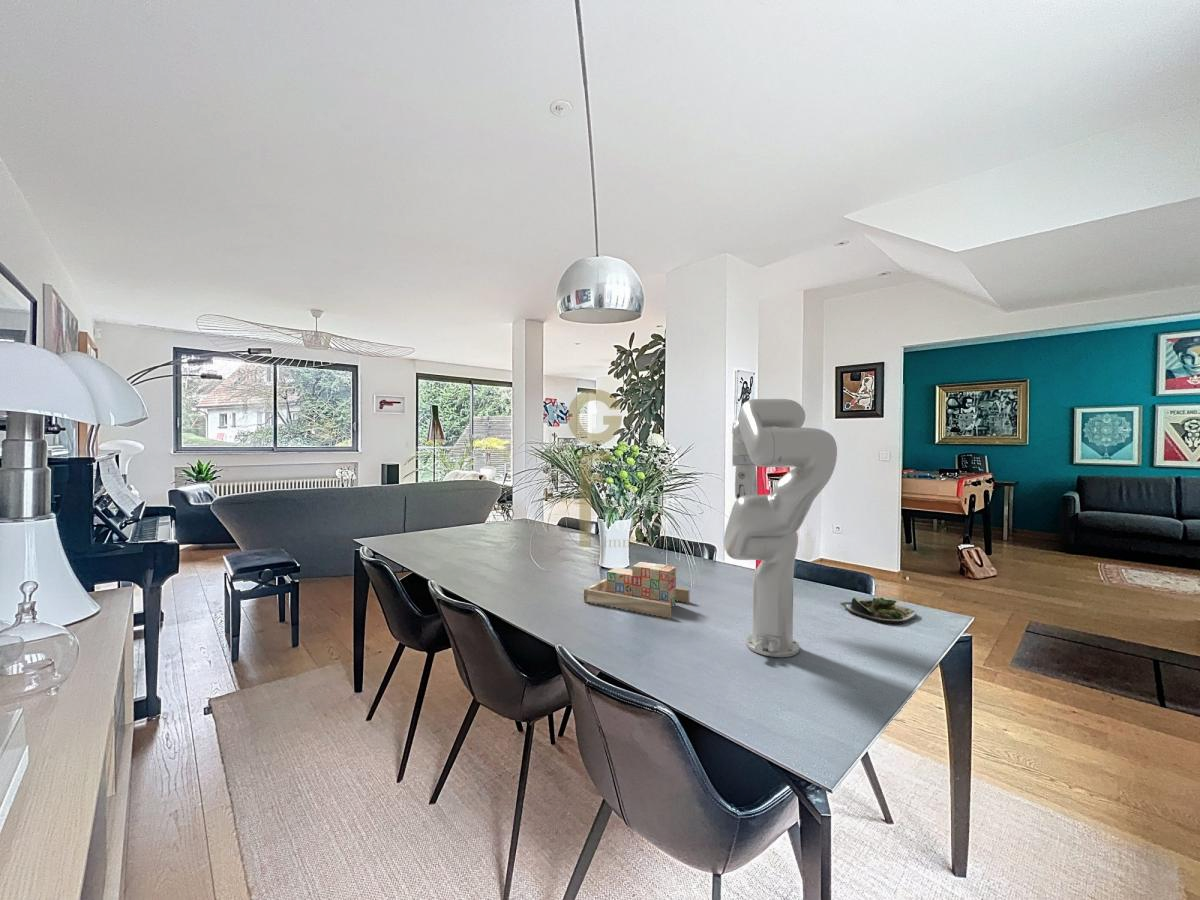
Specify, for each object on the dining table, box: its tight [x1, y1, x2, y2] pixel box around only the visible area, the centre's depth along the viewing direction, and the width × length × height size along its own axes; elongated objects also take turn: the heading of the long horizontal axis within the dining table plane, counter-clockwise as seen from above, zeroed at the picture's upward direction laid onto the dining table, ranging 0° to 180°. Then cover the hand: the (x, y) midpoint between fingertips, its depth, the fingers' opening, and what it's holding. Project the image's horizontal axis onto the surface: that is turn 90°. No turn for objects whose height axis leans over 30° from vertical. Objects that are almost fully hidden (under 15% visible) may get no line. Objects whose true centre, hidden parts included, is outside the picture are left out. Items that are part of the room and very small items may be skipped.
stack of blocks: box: [606, 561, 677, 608], centre depth 163 cm, size 21×6×12 cm, turn 60°
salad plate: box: [840, 597, 917, 626], centre depth 154 cm, size 19×18×5 cm
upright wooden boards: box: [583, 577, 691, 619], centre depth 163 cm, size 16×29×4 cm, turn 60°
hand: (745, 522), depth 154 cm, fingers closed
